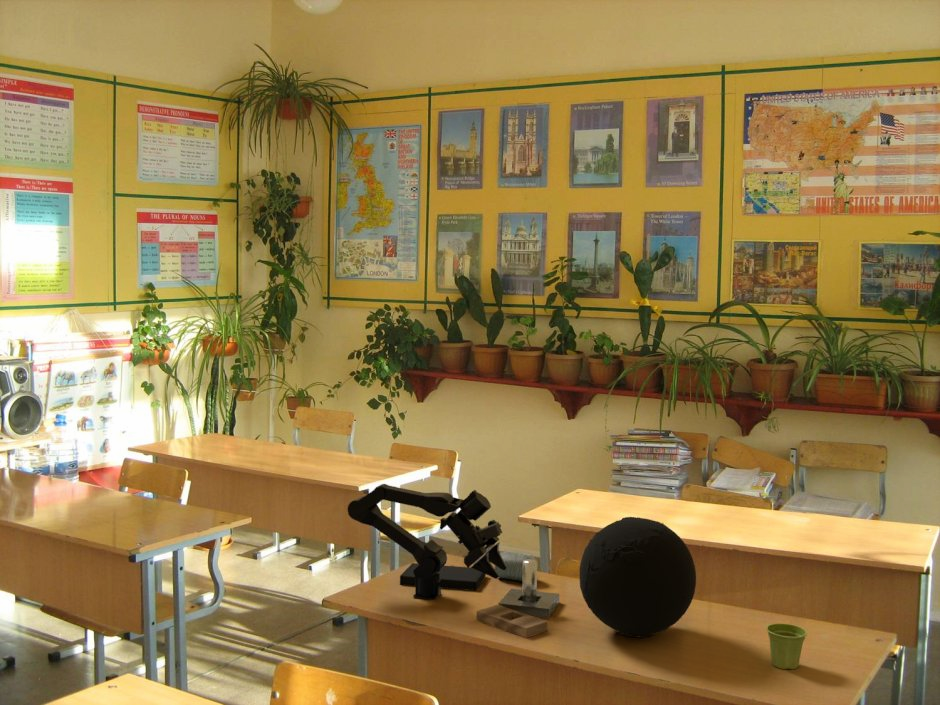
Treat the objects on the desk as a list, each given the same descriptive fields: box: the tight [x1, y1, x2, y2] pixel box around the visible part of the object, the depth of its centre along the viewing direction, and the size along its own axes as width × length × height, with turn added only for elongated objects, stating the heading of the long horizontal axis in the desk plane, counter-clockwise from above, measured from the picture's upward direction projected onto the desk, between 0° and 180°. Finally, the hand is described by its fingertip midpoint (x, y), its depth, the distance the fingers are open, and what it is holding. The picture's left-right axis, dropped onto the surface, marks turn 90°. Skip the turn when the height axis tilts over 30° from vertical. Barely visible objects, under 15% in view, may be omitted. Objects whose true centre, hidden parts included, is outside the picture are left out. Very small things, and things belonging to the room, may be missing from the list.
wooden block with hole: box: [475, 604, 548, 639], centre depth 270 cm, size 18×8×2 cm, turn 44°
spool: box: [493, 551, 539, 582], centre depth 311 cm, size 14×10×10 cm
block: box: [497, 588, 560, 619], centre depth 285 cm, size 14×14×2 cm
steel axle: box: [521, 559, 538, 602], centre depth 285 cm, size 4×4×13 cm
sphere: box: [578, 516, 697, 638], centre depth 265 cm, size 30×30×30 cm
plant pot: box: [766, 622, 808, 670], centre depth 245 cm, size 9×9×9 cm
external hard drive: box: [399, 562, 487, 591], centre depth 309 cm, size 14×23×3 cm, turn 78°
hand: (501, 573), depth 287 cm, fingers open, 9 cm apart
